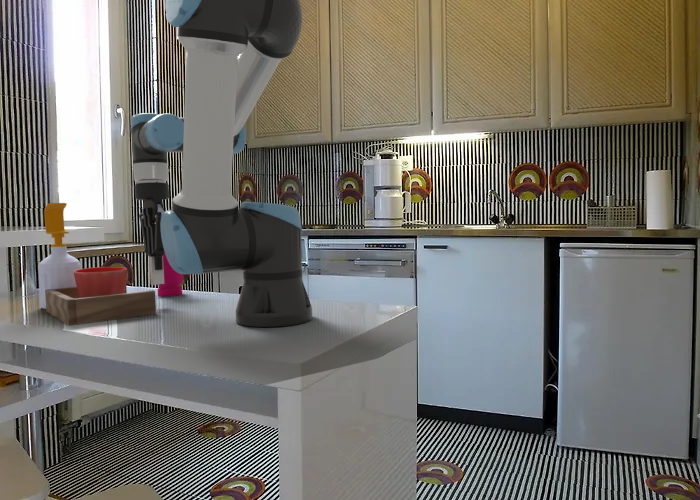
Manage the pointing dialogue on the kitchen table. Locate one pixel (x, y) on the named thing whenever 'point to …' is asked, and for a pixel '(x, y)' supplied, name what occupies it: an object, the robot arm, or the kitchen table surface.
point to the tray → (98, 305)
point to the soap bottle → (56, 255)
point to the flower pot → (100, 281)
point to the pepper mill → (170, 281)
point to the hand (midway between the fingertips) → (157, 284)
